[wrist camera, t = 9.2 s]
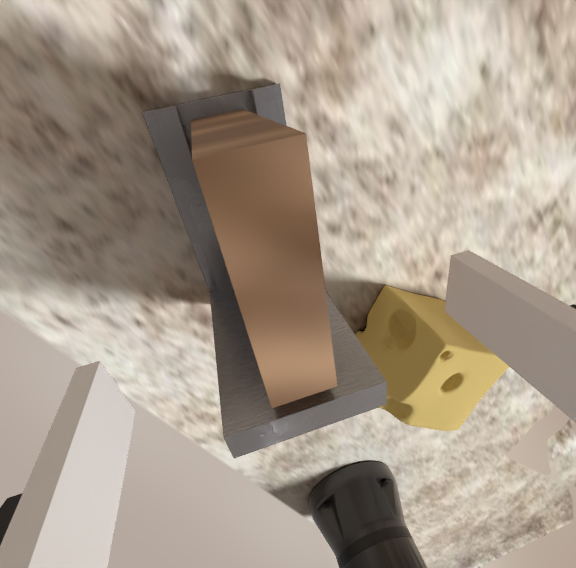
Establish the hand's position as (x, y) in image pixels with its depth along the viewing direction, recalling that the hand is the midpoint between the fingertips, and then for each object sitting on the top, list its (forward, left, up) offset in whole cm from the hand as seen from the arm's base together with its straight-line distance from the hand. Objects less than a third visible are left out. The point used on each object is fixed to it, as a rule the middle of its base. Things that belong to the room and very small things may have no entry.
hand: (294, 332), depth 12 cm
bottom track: (-1, 0, -16) cm, 16 cm away
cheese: (-19, -14, -16) cm, 29 cm away
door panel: (0, 0, -15) cm, 15 cm away
